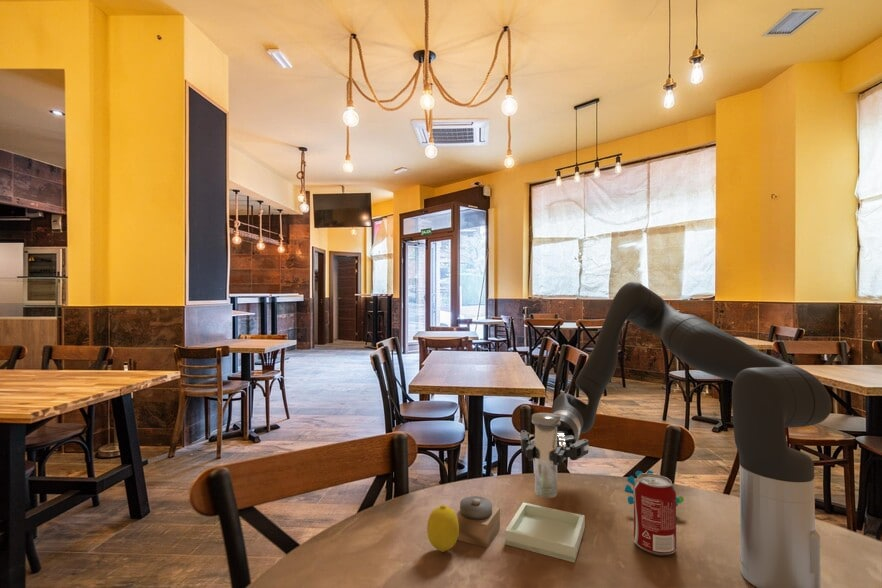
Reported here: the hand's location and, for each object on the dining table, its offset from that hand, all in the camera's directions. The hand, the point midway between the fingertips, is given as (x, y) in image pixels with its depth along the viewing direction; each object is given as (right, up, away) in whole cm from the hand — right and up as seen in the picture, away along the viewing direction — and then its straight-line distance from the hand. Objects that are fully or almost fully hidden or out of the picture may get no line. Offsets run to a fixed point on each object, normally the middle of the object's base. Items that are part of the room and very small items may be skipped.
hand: (542, 457), depth 78 cm
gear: (+26, -16, +11) cm, 32 cm away
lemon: (-18, -15, -3) cm, 24 cm away
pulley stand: (-12, -15, +3) cm, 20 cm away
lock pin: (+1, -8, +2) cm, 8 cm away
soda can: (+20, -16, -1) cm, 25 cm away
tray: (+1, -15, +2) cm, 16 cm away
